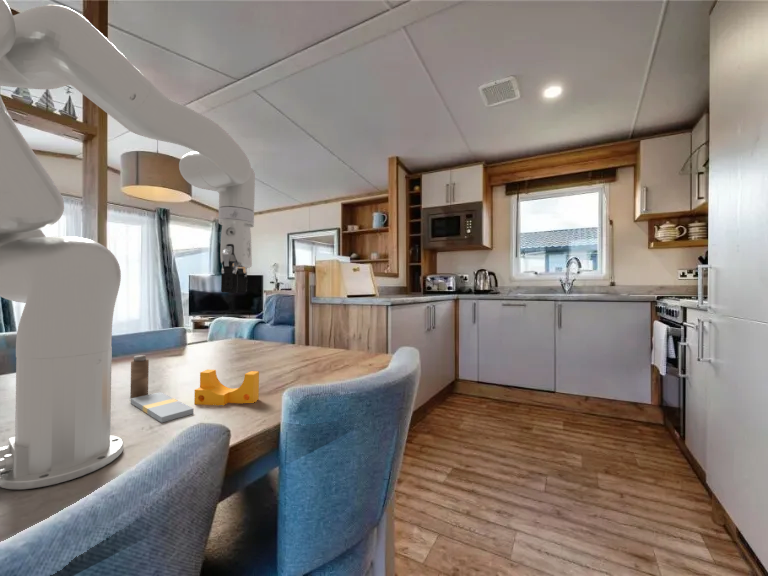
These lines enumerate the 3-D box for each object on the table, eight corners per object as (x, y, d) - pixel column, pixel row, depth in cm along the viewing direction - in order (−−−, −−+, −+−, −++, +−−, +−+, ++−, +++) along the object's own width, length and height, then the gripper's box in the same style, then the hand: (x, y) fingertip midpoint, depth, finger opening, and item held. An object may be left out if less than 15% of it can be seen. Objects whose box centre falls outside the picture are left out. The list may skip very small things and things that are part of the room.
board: (161, 422, 59) (161, 417, 59) (130, 403, 69) (130, 398, 69) (193, 413, 64) (193, 408, 64) (160, 396, 73) (160, 392, 73)
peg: (133, 399, 71) (133, 358, 71) (128, 396, 73) (128, 356, 73) (150, 395, 74) (151, 355, 74) (145, 392, 76) (145, 354, 76)
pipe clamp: (194, 405, 69) (194, 374, 69) (207, 398, 73) (207, 369, 73) (248, 407, 68) (249, 376, 68) (258, 400, 72) (259, 371, 72)
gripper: (245, 211, 68) (243, 293, 68) (259, 226, 85) (258, 292, 85) (206, 208, 66) (204, 292, 66) (229, 224, 83) (227, 291, 83)
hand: (234, 292), depth 75 cm, fingers open, 9 cm apart
